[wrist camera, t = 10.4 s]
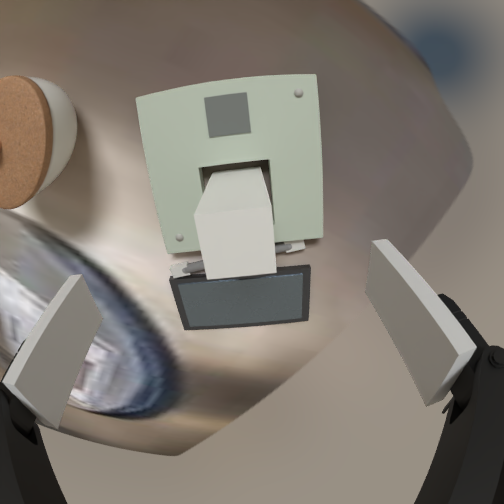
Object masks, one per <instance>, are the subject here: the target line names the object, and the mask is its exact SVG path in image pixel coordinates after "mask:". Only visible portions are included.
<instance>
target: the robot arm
mask: <svg viewBox="0 0 504 504" xmlns="http://www.w3.org/2000/svg"><path fill="white" fill-rule="evenodd" d="M365 293H366V294H367V296H368V298H369V300H370V301H371V303H372V305H373V306H374V308H375V310H376V312H377V313H378V315H379V317H380V319H381V320H382V322H383V324H384V325H385V327H386V329H387V331H388V333H389V335H390V336H391V338H392V340H393V342H394V344H395V346H396V348H397V349H398V351H399V353H400V355H401V357H402V359H403V361H404V363H405V365H406V367H407V369H408V370H409V373H410V374H411V376H412V378H413V380H414V383H415V385H416V387H417V389H418V391H419V393H420V395H421V397H422V399H423V401H424V403H425V406H426V407H427V406H429V405H431V404H434V403H436V402H439V401H441V400H443V399H444V397H445V396H446V395H447V393H448V392H449V391H450V390H451V392H452V394H453V397H452V399H451V400H450V401H449V403H448V404H447V405H446V406H445V408H444V409H443V411H442V413H443V414H444V413H445V412H446V411H447V409H448V408H449V409H448V413H447V417H446V421H445V424H444V428H443V431H442V434H441V438H440V441H439V444H438V447H437V450H436V453H435V456H434V458H433V461H432V464H431V466H430V469H429V472H428V474H427V476H426V479H425V481H424V483H423V486H422V488H421V490H420V492H419V494H418V497H417V499H416V501H415V503H414V504H504V349H503V348H501V347H499V346H489V345H488V344H487V343H486V341H485V340H484V339H483V337H482V336H481V335H480V334H479V332H478V331H477V329H476V328H475V327H474V325H473V324H472V323H471V322H470V320H469V319H467V317H466V315H465V314H464V313H463V312H461V309H460V308H459V307H458V306H457V304H456V303H455V302H454V301H453V300H452V299H450V298H449V297H447V296H446V295H444V294H439V295H437V294H436V293H435V292H434V291H433V290H432V288H431V287H430V286H429V285H428V284H427V282H426V281H425V280H424V279H423V278H422V277H421V276H420V274H419V273H418V272H417V271H416V270H415V269H414V268H413V267H412V266H411V264H410V263H409V262H408V261H407V260H406V259H405V258H404V257H403V256H402V254H401V253H400V252H399V251H398V250H397V249H396V248H395V247H394V246H393V245H392V244H391V243H390V242H389V241H388V240H387V239H384V240H375V241H372V244H371V253H370V262H369V269H368V276H367V283H366V290H365ZM102 320H103V318H102V316H101V314H100V312H99V310H98V308H97V306H96V304H95V302H94V300H93V298H92V296H91V293H90V291H89V289H88V287H87V285H86V282H85V280H84V278H83V275H82V274H80V275H71V276H70V277H69V278H68V279H67V281H66V282H65V283H64V285H63V286H62V287H61V289H60V290H59V291H58V293H57V294H56V295H55V297H54V298H53V300H52V301H51V302H50V304H49V305H48V307H47V308H46V310H45V311H44V313H43V314H42V316H41V317H40V318H39V320H38V322H37V323H36V325H35V326H34V328H33V329H32V331H31V332H30V334H29V336H28V337H27V338H26V339H25V340H24V341H23V343H22V344H21V346H20V348H19V349H18V353H16V355H15V356H14V360H12V362H11V363H10V365H9V367H8V369H7V371H6V372H5V374H4V376H3V378H2V380H1V382H0V504H67V502H66V500H65V497H64V495H63V493H62V491H61V489H60V486H59V484H58V481H57V479H56V477H55V474H54V472H53V469H52V467H51V464H50V461H49V458H48V455H47V452H46V449H45V446H44V443H43V440H42V436H41V433H40V429H39V427H38V425H37V424H36V423H35V422H34V421H35V419H36V417H37V418H38V419H39V420H40V421H41V422H42V423H43V424H44V425H46V426H50V427H53V428H57V429H58V427H59V424H60V421H61V418H62V415H63V412H64V410H65V407H66V404H67V401H68V399H69V396H70V393H71V391H72V388H73V386H74V383H75V381H76V378H77V376H78V373H79V371H80V368H81V366H82V364H83V361H84V359H85V357H86V354H87V352H88V350H89V348H90V346H91V343H92V341H93V339H94V337H95V335H96V333H97V330H98V328H99V326H100V324H101V322H102Z"/></svg>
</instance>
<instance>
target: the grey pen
mask: <svg viewBox="0 0 504 504" xmlns="http://www.w3.org/2000/svg"><path fill="white" fill-rule="evenodd" d="M301 249H305V244H304V239H303V240H294V241H284V242H279V243H275V253H280V252H284V251H286V253H288V252H292V251H297V250H301ZM200 270H205V267H204V263H203V260H202V261H198V262H193V263H189V264H188V262H183V263H179V264H175V265H171V267H170V271H171V273H172V276H173V278H178V277H182V276H187V275H190V274H191V273H192V272H196V271H200Z"/></svg>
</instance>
